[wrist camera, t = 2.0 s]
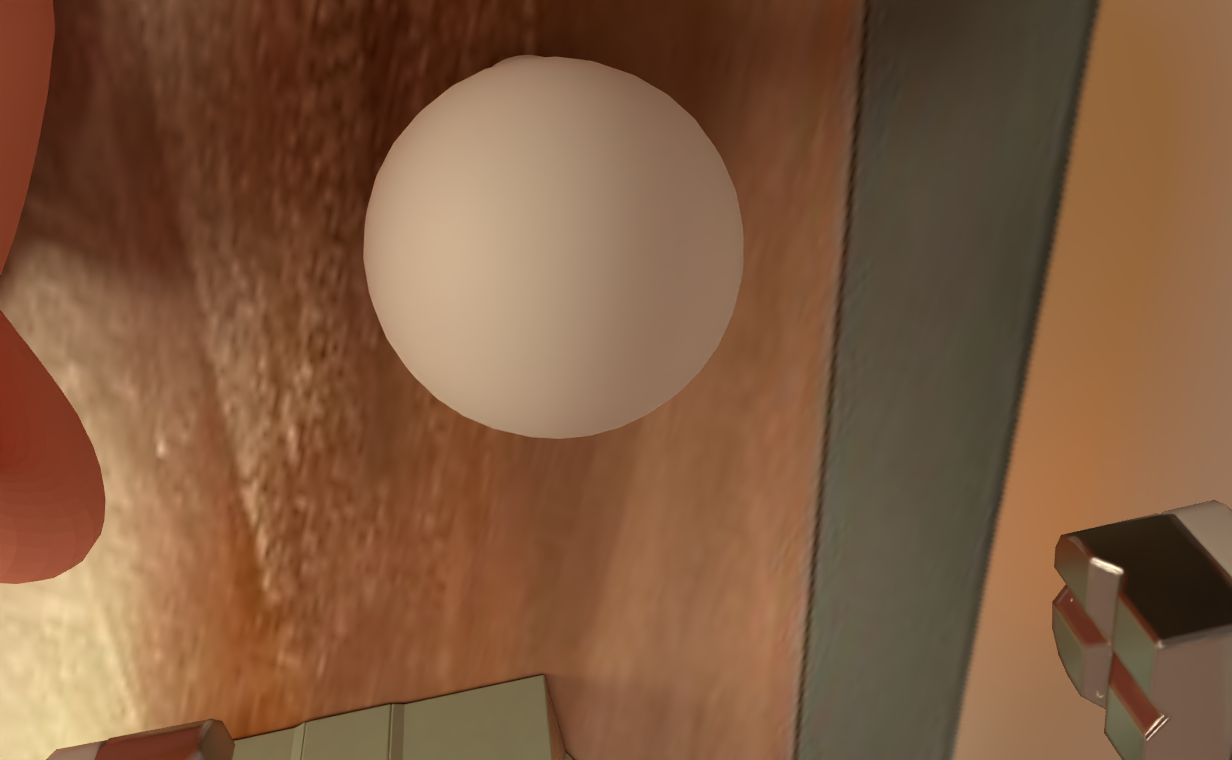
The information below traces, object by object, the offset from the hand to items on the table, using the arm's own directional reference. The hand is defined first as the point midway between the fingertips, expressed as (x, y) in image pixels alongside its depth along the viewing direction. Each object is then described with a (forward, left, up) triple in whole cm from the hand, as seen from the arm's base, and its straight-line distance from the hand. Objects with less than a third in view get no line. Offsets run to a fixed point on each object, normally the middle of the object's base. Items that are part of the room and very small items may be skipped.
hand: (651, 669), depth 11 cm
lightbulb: (0, 0, -17) cm, 17 cm away
